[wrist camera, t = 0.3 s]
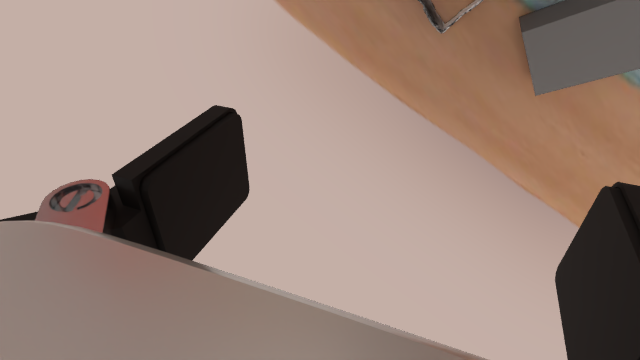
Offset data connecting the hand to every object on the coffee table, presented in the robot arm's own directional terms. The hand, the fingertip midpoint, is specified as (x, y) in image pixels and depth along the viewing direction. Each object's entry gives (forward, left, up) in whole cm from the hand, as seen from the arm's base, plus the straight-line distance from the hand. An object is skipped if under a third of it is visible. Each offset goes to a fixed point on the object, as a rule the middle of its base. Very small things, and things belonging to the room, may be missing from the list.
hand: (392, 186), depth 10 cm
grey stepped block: (+8, +10, -36) cm, 38 cm away
